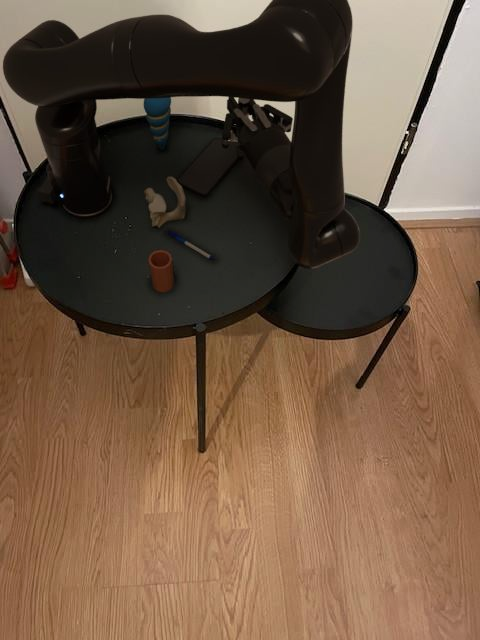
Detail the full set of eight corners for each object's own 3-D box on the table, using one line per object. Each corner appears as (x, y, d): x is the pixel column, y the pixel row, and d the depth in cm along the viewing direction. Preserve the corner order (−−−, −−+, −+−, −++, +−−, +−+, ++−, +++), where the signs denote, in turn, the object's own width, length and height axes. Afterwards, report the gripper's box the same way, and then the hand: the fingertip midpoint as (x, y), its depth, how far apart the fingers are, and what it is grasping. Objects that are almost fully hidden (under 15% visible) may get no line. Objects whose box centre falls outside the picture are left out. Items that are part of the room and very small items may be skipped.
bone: (127, 218, 101) (141, 167, 96) (145, 210, 107) (158, 161, 102) (167, 239, 100) (183, 188, 95) (183, 229, 106) (198, 181, 101)
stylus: (241, 164, 106) (246, 105, 95) (232, 159, 107) (236, 100, 95) (247, 158, 107) (252, 98, 95) (238, 153, 108) (242, 94, 96)
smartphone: (174, 181, 108) (215, 135, 114) (174, 184, 109) (215, 139, 115) (206, 196, 106) (246, 149, 113) (206, 200, 107) (245, 153, 113)
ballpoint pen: (166, 235, 102) (165, 231, 101) (169, 231, 103) (168, 228, 102) (212, 261, 100) (212, 258, 99) (215, 258, 100) (215, 255, 99)
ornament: (178, 144, 114) (173, 80, 101) (169, 161, 112) (164, 98, 99) (154, 139, 115) (147, 74, 102) (145, 155, 112) (136, 92, 99)
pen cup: (149, 289, 96) (145, 265, 90) (156, 272, 98) (153, 248, 92) (170, 294, 95) (167, 270, 89) (176, 277, 97) (174, 253, 91)
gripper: (319, 136, 89) (274, 71, 97) (239, 157, 86) (200, 88, 93) (311, 171, 95) (269, 107, 103) (237, 191, 92) (200, 124, 100)
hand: (236, 98), depth 98 cm, fingers closed on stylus, 2 cm apart
